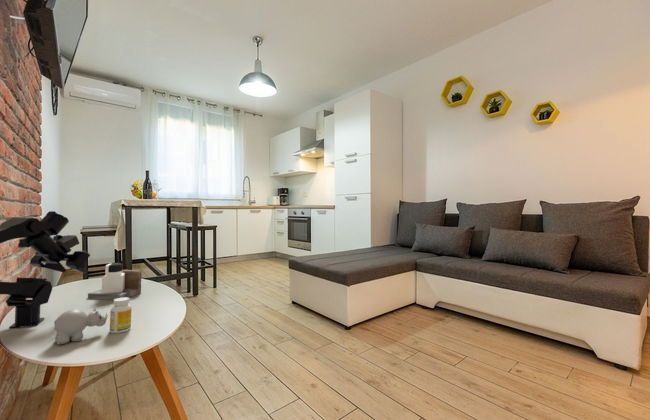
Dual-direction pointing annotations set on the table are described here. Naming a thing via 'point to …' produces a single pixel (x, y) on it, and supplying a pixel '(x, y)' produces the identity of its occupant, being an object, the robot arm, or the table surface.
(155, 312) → the table surface
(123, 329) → the supplement bottle
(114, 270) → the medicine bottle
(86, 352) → the table surface
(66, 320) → the round bodied animal figurine
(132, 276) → the wall board
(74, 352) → the table surface
